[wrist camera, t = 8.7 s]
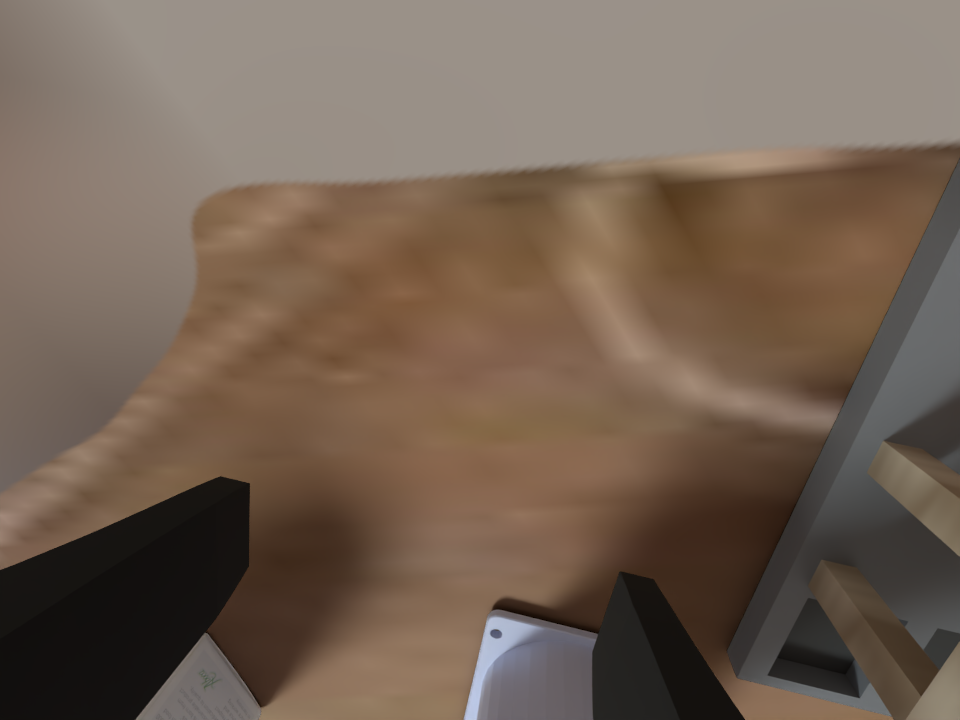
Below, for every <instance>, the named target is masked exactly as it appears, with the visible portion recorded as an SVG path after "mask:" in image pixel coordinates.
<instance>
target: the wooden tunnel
mask: <svg viewBox="0 0 960 720" xmlns="http://www.w3.org/2000/svg"><path fill="white" fill-rule="evenodd" d="M867 474H868V475H870V476H871V477H872V478H873V479H874V480H875V481H876V482H877V483H878V484H880V485H881V486H882V487H883V488H884V489H885V490H886V491H887V492H888V493H890V494H891V495H892V496H893V497H894V498H895V499H896V500H897V501H898V502H900V503H901V504H902V505H903V506H904V507H905V508H906V509H907V510H908V511H910V512H911V513H912V514H913V515H914V516H915V517H916V518H917V519H918V520H919V521H921V522H922V523H923V524H924V525H925V526H926V527H927V528H928V529H929V530H931V531H932V532H933V533H934V534H935V535H936V536H937V537H938V538H939V539H941V540H942V541H943V542H944V543H945V544H946V545H947V546H948V547H949V548H951V549H952V550H953V551H954V552H955V553H956V554H957V555H958V556H959V557H960V475H959V474H957V473H956V472H955V471H953V470H952V469H950V468H949V467H947V466H946V465H945V464H943V463H942V462H940V461H939V460H937V459H936V458H935V457H933V456H932V455H930V454H929V453H927V452H926V451H925V450H923V449H920V448H915V447H910V446H906V445H901V444H896V443H891V442H887V441H883V442H882V444H881V446H880V448H879V450H878V452H877V454H876V456H875V457H874V459H873V461H872V463H871V465H870V467H869V469H868V471H867ZM808 587H809V588H810V590H811V591H812V593H813V595H814V596H815V598H816V599H817V601H818V602H819V604H820V605H821V607H822V608H823V610H824V612H825V613H826V615H827V616H828V618H829V619H830V621H831V622H832V624H833V626H834V627H835V629H836V630H837V632H838V633H839V635H840V636H841V638H842V640H843V641H844V643H845V644H846V646H847V647H848V649H849V650H850V652H851V653H852V655H853V657H854V658H855V660H856V661H857V663H858V664H859V666H860V667H861V669H862V671H863V672H864V674H865V675H866V677H867V678H868V680H869V681H870V683H871V685H872V686H873V688H874V689H875V691H876V692H877V694H878V695H879V697H880V698H881V700H882V702H883V703H884V705H885V706H886V708H887V709H888V711H889V712H890V714H891V716H892V717H893V719H894V720H960V642H959V643H958V645H957V646H956V647H955V649H954V650H953V652H952V653H951V655H950V656H949V658H948V659H947V660H946V662H945V663H944V665H943V666H942V668H941V669H940V670H939V669H938V668H937V667H936V665H935V664H934V663H933V662H932V660H931V659H930V658H929V657H928V655H927V654H926V653H925V652H924V651H923V649H922V648H921V647H920V646H919V644H918V643H917V642H916V641H915V639H914V638H913V637H912V636H911V634H910V633H909V632H908V631H907V629H906V628H905V627H904V626H903V624H902V623H901V622H900V621H899V619H898V618H897V617H896V616H895V614H894V613H893V612H892V611H891V610H890V608H889V607H888V606H887V605H886V603H885V602H884V601H883V600H882V598H881V597H880V596H879V595H878V593H877V592H876V591H875V590H874V588H873V587H872V586H871V585H870V583H869V582H868V581H867V580H866V578H865V577H864V576H863V575H862V573H861V572H860V571H859V570H858V569H857V568H856V567H852V566H847V565H843V564H839V563H834V562H830V561H826V560H821V562H820V563H819V565H818V567H817V569H816V571H815V573H814V575H813V577H812V579H811V581H810V583H809V585H808Z"/></svg>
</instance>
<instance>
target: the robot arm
mask: <svg viewBox="0 0 960 720" xmlns="http://www.w3.org/2000/svg"><path fill="white" fill-rule="evenodd" d="M249 504H250V483H246V482H242V481H238V480H233V479H229V478H225V477H221V476H220V477H218V478H215V479H213V480H210V481H208V482H205V483H203V484H201V485H198V486H196V487H194V488H191V489H189V490H187V491H185V492H182V493H180V494H178V495H176V496H174V497H171V498H169V499H167V500H165V501H163V502H160V503H158V504H156V505H154V506H152V507H149V508H147V509H145V510H143V511H140V512H138V513H136V514H134V515H131V516H129V517H127V518H125V519H122V520H120V521H118V522H116V523H113V524H111V525H109V526H107V527H104V528H102V529H100V530H98V531H95V532H93V533H91V534H88V535H86V536H84V537H81V538H79V539H76V540H74V541H71V542H69V543H66V544H64V545H62V546H59V547H57V548H54V549H52V550H49V551H47V552H45V553H42V554H40V555H37V556H35V557H32V558H30V559H27V560H25V561H23V562H20V563H18V564H15V565H13V566H10V567H7V568H5V569H2V570H0V720H136V718H137V717H138V716H139V715H140V713H141V712H142V711H143V710H144V708H145V707H146V706H147V705H148V703H149V702H150V701H151V700H152V698H153V697H154V696H155V695H156V693H157V692H158V691H159V690H160V688H161V687H162V686H163V685H164V683H165V682H166V681H167V680H168V678H169V677H170V676H171V675H172V673H173V672H174V671H175V670H176V668H177V667H178V666H179V665H180V663H181V662H182V661H183V660H184V658H185V657H186V656H187V655H188V653H189V652H190V651H191V650H192V648H193V647H194V646H195V645H196V643H197V642H198V641H199V639H200V638H201V637H202V636H203V634H204V633H205V632H206V631H207V629H208V628H209V627H210V625H211V624H212V623H213V622H214V620H215V619H216V618H217V616H218V615H219V613H220V612H221V610H222V609H223V607H224V606H225V604H226V602H227V601H228V599H229V598H230V596H231V595H232V593H233V591H234V590H235V588H236V587H237V585H238V583H239V582H240V580H241V578H242V577H243V575H244V573H245V572H246V570H247V568H248V567H249ZM493 629H498V630H500V631H496V630H493ZM464 720H745V719H744V717H743V716H742V714H741V713H740V712H739V710H738V709H737V707H736V706H735V705H734V703H733V702H732V700H731V699H730V697H729V696H728V694H727V693H726V691H725V690H724V688H723V687H722V685H721V684H720V682H719V681H718V679H717V678H716V676H715V675H714V673H713V672H712V670H711V669H710V667H709V666H708V664H707V663H706V661H705V660H704V658H703V657H702V655H701V654H700V652H699V651H698V649H697V647H696V646H695V644H694V643H693V641H692V640H691V638H690V636H689V635H688V633H687V632H686V630H685V629H684V627H683V625H682V624H681V622H680V621H679V619H678V618H677V616H676V614H675V613H674V611H673V610H672V608H671V606H670V605H669V603H668V602H667V600H666V598H665V597H664V595H663V594H662V592H661V591H660V589H659V587H658V586H657V584H656V583H655V581H654V580H653V579H650V578H646V577H642V576H638V575H633V574H629V573H625V572H621V571H620V572H619V575H618V578H617V581H616V584H615V587H614V590H613V593H612V596H611V599H610V601H609V604H608V607H607V610H606V613H605V616H604V619H603V622H602V625H601V628H600V631H599V633H598V634H596V633H592V632H588V631H584V630H580V629H576V628H572V627H568V626H564V625H560V624H556V623H552V622H548V621H544V620H540V619H536V618H532V617H528V616H523V615H519V614H515V613H511V612H507V611H503V610H493V611H491V612H490V613H489V615H488V617H487V621H486V626H485V630H484V634H483V639H482V643H481V647H480V651H479V656H478V660H477V664H476V668H475V673H474V677H473V681H472V686H471V690H470V694H469V698H468V703H467V707H466V711H465V715H464Z"/></svg>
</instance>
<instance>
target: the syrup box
mask: <svg viewBox="0 0 960 720" xmlns="http://www.w3.org/2000/svg"><path fill="white" fill-rule="evenodd" d="M260 715H261V708H260V706H259V704H258V703H257V701H256V700H255V698H254V696H253V695H252V693H251V692H250V690H249V689H248V687H247V686H246V684H245V683H244V681H243V680H242V679H241V677H240V676H239V674H238V673H237V671H236V670H235V669H234V668H233V666H232V665H231V664H230V662H229V661H228V660H227V658H226V657H225V656H224V654H223V653H222V652H221V650H220V649H219V648H218V646H217V645H216V644H215V643H214V641H213V640H212V639H211V638H210V636H209V635H208V633H204V634H203V636H202V637H201V638H200V639H199V641H198V642H197V643H196V645H195V646H194V647H193V648H192V650H191V651H190V652H189V653H188V655H187V656H186V657H185V658H184V660H183V661H182V662H181V663H180V665H179V666H178V667H177V668H176V670H175V671H174V672H173V673H172V675H171V676H170V677H169V678H168V680H167V681H166V682H165V683H164V685H163V686H162V687H161V688H160V690H159V691H158V692H157V693H156V695H155V696H154V697H153V698H152V700H151V701H150V702H149V703H148V705H147V706H146V707H145V708H144V710H143V711H142V712H141V713H140V715H139V716H138V717H137V718H136V720H258V719H259V717H260Z"/></svg>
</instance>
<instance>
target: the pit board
mask: <svg viewBox="0 0 960 720" xmlns="http://www.w3.org/2000/svg"><path fill="white" fill-rule="evenodd" d="M883 441H887V442H891V443H896V444H901V445H906V446H910V447H915V448H920V449H923V450H925V451H926V452H927V453H929V454H930V455H932V456H933V457H935V458H936V459H937V460H939V461H940V462H942V463H943V464H945V465H946V466H947V467H949V468H950V469H952V470H953V471H955V472H956V473H957V474H959V475H960V160H959V162H958V164H957V166H956V168H955V170H954V172H953V174H952V177H951V179H950V181H949V183H948V185H947V187H946V189H945V191H944V193H943V196H942V198H941V200H940V202H939V204H938V206H937V208H936V210H935V212H934V215H933V217H932V219H931V221H930V223H929V225H928V227H927V229H926V231H925V234H924V236H923V238H922V240H921V242H920V244H919V246H918V248H917V250H916V253H915V255H914V257H913V259H912V261H911V263H910V265H909V267H908V269H907V272H906V274H905V276H904V278H903V280H902V282H901V284H900V286H899V288H898V291H897V293H896V295H895V297H894V299H893V301H892V303H891V305H890V308H889V310H888V312H887V314H886V316H885V318H884V320H883V322H882V324H881V327H880V329H879V331H878V333H877V335H876V337H875V339H874V341H873V343H872V346H871V348H870V350H869V352H868V354H867V356H866V358H865V360H864V362H863V365H862V367H861V369H860V371H859V373H858V375H857V377H856V379H855V381H854V384H853V386H852V388H851V390H850V392H849V394H848V396H847V398H846V400H845V403H844V405H843V407H842V409H841V411H840V413H839V415H838V417H837V419H836V422H835V424H834V426H833V428H832V430H831V432H830V434H829V436H828V439H827V441H826V443H825V445H824V447H823V449H822V451H821V453H820V455H819V458H818V460H817V462H816V464H815V466H814V468H813V470H812V472H811V474H810V477H809V479H808V481H807V483H806V485H805V487H804V489H803V491H802V493H801V496H800V498H799V500H798V502H797V504H796V506H795V508H794V510H793V512H792V515H791V517H790V519H789V521H788V523H787V525H786V527H785V529H784V531H783V534H782V536H781V538H780V540H779V542H778V544H777V546H776V548H775V550H774V553H773V555H772V557H771V559H770V561H769V563H768V565H767V567H766V570H765V572H764V574H763V576H762V578H761V580H760V582H759V584H758V586H757V589H756V591H755V593H754V595H753V597H752V599H751V601H750V603H749V605H748V608H747V610H746V612H745V614H744V616H743V618H742V620H741V622H740V624H739V627H738V629H737V631H736V633H735V635H734V637H733V639H732V641H731V643H730V646H729V648H728V650H727V653H728V656H729V659H730V661H731V664H732V667H733V669H734V672H735V675H736V677H737V678H739V679H743V680H747V681H751V682H755V683H759V684H763V685H767V686H771V687H775V688H779V689H783V690H787V691H791V692H795V693H799V694H803V695H807V696H811V697H815V698H819V699H823V700H827V701H831V702H835V703H839V704H843V705H847V706H851V707H855V708H859V709H863V710H867V711H871V712H875V713H879V714H883V715H887V716H891V714H890V712H889V711H888V709H887V708H886V706H885V705H884V703H883V702H882V700H881V698H880V697H879V695H878V694H877V692H876V691H875V689H874V688H873V686H872V685H871V683H870V681H869V680H868V678H867V677H866V675H865V674H864V672H863V671H862V669H861V667H860V666H859V664H858V663H857V661H856V660H855V658H854V657H853V655H852V653H851V652H850V650H849V649H848V647H847V646H846V644H845V643H844V641H843V640H842V638H841V636H840V635H839V633H838V632H837V630H836V629H835V627H834V626H833V624H832V622H831V621H830V619H829V618H828V616H827V615H826V613H825V612H824V610H823V608H822V607H821V605H820V604H819V602H818V601H817V599H816V598H815V596H814V595H813V593H812V591H811V590H810V588H809V587H808V585H809V583H810V581H811V579H812V577H813V575H814V573H815V571H816V569H817V567H818V565H819V563H820V562H821V560H826V561H830V562H834V563H839V564H843V565H847V566H852V567H856V568H857V569H858V570H859V571H860V572H861V573H862V575H863V576H864V577H865V578H866V580H867V581H868V582H869V583H870V585H871V586H872V587H873V588H874V590H875V591H876V592H877V593H878V595H879V596H880V597H881V598H882V600H883V601H884V602H885V603H886V605H887V606H888V607H889V608H890V610H891V611H892V612H893V613H894V614H895V616H896V617H897V618H898V619H899V621H900V622H901V623H902V624H903V626H904V627H905V628H906V629H907V631H908V632H909V633H910V634H911V636H912V637H913V638H914V639H915V641H916V642H917V643H918V644H919V646H920V647H921V648H922V649H923V651H924V652H925V653H926V654H927V655H928V657H929V658H930V659H931V660H932V662H933V663H934V664H935V665H936V667H937V668H938V669H939V670H940V669H941V668H942V666H943V665H944V663H945V662H946V660H947V659H948V658H949V656H950V655H951V653H952V652H953V650H954V649H955V647H956V646H957V645H958V643H959V642H960V557H959V556H958V555H957V554H956V553H955V552H954V551H953V550H952V549H951V548H949V547H948V546H947V545H946V544H945V543H944V542H943V541H942V540H941V539H939V538H938V537H937V536H936V535H935V534H934V533H933V532H932V531H931V530H929V529H928V528H927V527H926V526H925V525H924V524H923V523H922V522H921V521H919V520H918V519H917V518H916V517H915V516H914V515H913V514H912V513H911V512H910V511H908V510H907V509H906V508H905V507H904V506H903V505H902V504H901V503H900V502H898V501H897V500H896V499H895V498H894V497H893V496H892V495H891V494H890V493H888V492H887V491H886V490H885V489H884V488H883V487H882V486H881V485H880V484H878V483H877V482H876V481H875V480H874V479H873V478H872V477H871V476H870V475H868V474H867V471H868V469H869V467H870V465H871V463H872V461H873V459H874V457H875V456H876V454H877V452H878V450H879V448H880V446H881V444H882V442H883ZM891 717H892V716H891Z"/></svg>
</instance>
